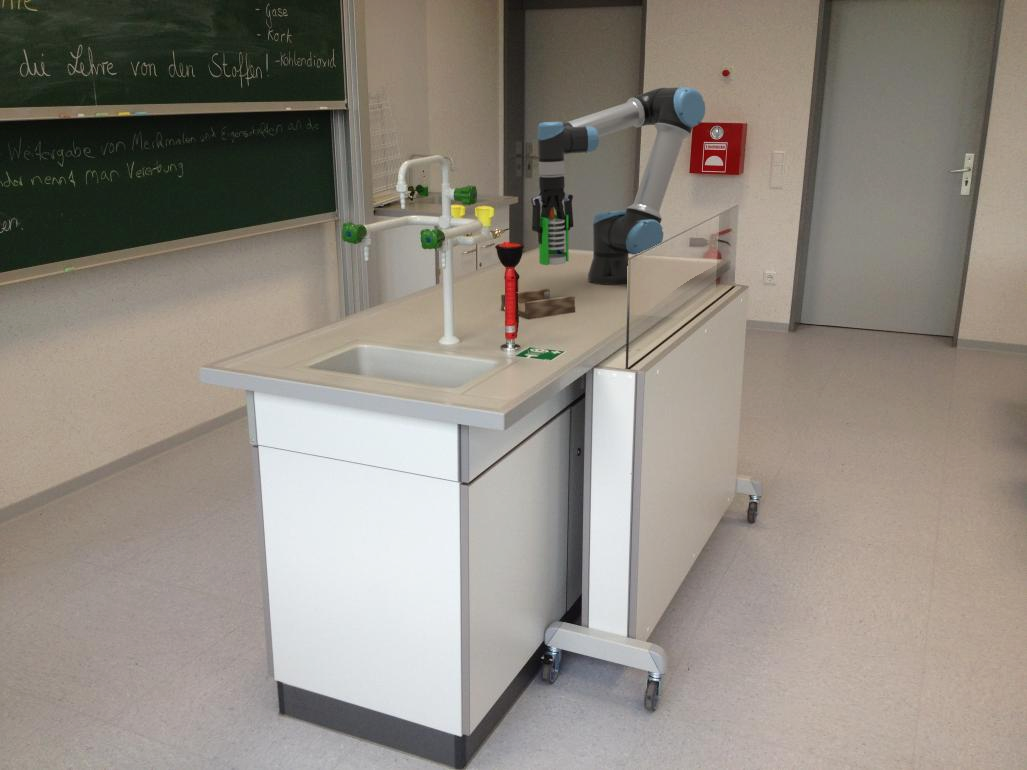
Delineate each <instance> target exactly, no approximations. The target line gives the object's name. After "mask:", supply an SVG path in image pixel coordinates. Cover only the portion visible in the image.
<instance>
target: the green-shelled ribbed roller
mask: <svg viewBox="0 0 1027 770" xmlns="http://www.w3.org/2000/svg"><path fill="white" fill-rule="evenodd" d="M546 208H547V207H546ZM565 217H566V229H567V230H563V229H562V228H564V227H565V225H563V224H561V223H564V222H565V220H561V219H558V216H557V213H555V208H554V207H553V208H551V211H550V212H549V216H548V218H542V217H540V227H541V228H542V231H543V233H542V244H539V243H538V244H539V246H538V247H539V249H538V250H539V251H538V252H539V253H538V254H539V255H538V258H539V261H538V262H539V264H540V265H541V266H542V265H543V266H553V265H555V266H557V265H563V264H566V263H567V262H569V257H570V256H569V250H570V249H569V248H570V247H569V231H568V215H565ZM541 228H540V229H541ZM565 231H566V252H560V250H559V249H564V248H565V245H561V244H563V243H565V240H562V239H563V238H565V235H562V233H565Z"/></svg>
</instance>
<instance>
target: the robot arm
mask: <svg viewBox="0 0 1027 770" xmlns="http://www.w3.org/2000/svg"><path fill="white" fill-rule="evenodd" d="M705 115H706V103H705V101H704V97H703V95H702V94H701V92H700V91H698V90H697V89H695V88H693V87H686V86H681V87H659V88H655V89H652V90H648V91H647V92H644V93H641V94H639V95H636V96H632V97H630V98H628V100H627V101H626V102H624V103H621V104H618V105H616V106H613V107H610V108H606V109H603V110H600V111H596V112H594V113H591V114H590V113H589V114H588V115H585V116H581V117H578V118H575V119H572V120H569V121H566V122H562V121H544V122H541V123H539V124H538V126H537V148H538V149H537V152H538V174H539V175H540V176H539V178H538V180H539V181H538V182H539V183H538V185H539V195H538V196H537V197H532V198H531V199H530V201H531V204H532V217H531V218H532V219H531V221H532V222H531V223H532V224H531V230H532V231H533V232H535V233H537V238H538V241H537V242H538V244H542V233H543V231H542V228H541V227H540V217H542V218H548V216H549V212H550V211H551V208H554V211H555V212H556V213H555V214H557V216H558V219H561V220H565V222H564V223H561V224H563V225H565V227H564V228H562V229H563V230H567V229H566V217H565V215H568V232H570V230H571V228H573V227H574V214H573V198H574V195H573V194H568V193H566V192H565V176H564V174H565V155H568V154H569V155H570V154H582V153H585V154H587V153H591V152H594V151H596V150H597V148H598V147H599V144H600V138H601V137H604V136H606V135H610V134H612V133H617V132H618V131H622V130H625V129H628V128H631V127H634V128H636V129H637V128H642V127H644V126H645V127H646V126H654V127H655V129H656V134H655V138H654V141H653V144H652V147H651V150H650V153H649V156H648V160H647V161H646V162H647V163H646V165H645V168H644V171H643V174H642V177H641V180H640V183H639V186H638V189H637V193H636V195H635V198H634V201H633V204H631V205H629V206H627V207H626V209H625V210H612V211H611V210H610V211H603V212H602V211H601V212H600V211H599V212H596V213H595V214H594V217H593V223H592V227H593V240H592V241H593V249H592V250H593V258H592V261H591V264H590V267H589V271H588V273H587V280H589V281H588V282H590V281H591V282H590V283H593V282H594V283H593V284H598V283H600V284H601V285H621V284H628V283H627V266H628V260H629V261H630V259H629V258H630V257H629V254H631V255H633V256H635V255H634V254H637V253H640V252H642V251H644V250H647V249H649V248H651V247H653V246H655V245H657V244H659V243H661V242H662V243H663V239H664V231H663V227H662V224H661V222H662V220H663V219H662V218H663V217H662V216H661V213H660V211H661V207H662V205H663V201H664V199H665V196H666V192H667V189H668V186H669V183H670V180H671V178H672V175H673V171H674V169H675V165H676V163H677V159H678V156H679V153H680V150H681V147H682V145H683V141H684V140H685V139H687V138H688V137H690V136H691V133H692V129H693V128H694V127H696V126H698V125H699V124H701V122H702V121H703V119H704V117H705ZM546 207H547V208H546ZM540 228H541V229H540ZM562 235H565V238H563V239H562V240H565V243H563V244H561V245H565V248H564V249H559V250H560V252H566V231H565V233H562ZM662 243H661V244H662Z"/></svg>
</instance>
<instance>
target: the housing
mask: <svg viewBox="0 0 1027 770" xmlns="http://www.w3.org/2000/svg"><path fill="white" fill-rule="evenodd" d="M517 293H518V303H519V316H518V317H521V316H522V318H524V317H525V318H524V319H527V318H528V319H527V320H532V319H536V318H543V317H550V316H557V315H562V314H563V315H564V314H569V313H576V306H575V305H576V302H575V301H576V300H575V297H576V296H575V295H566V296H559V297H552V298H551V289H550V288H540V289H533V290H526V291H518V292H517ZM505 294H506V293H504V294H501V295H500V296H501V298H500V299H501V306H500V308H501V311H504V307H505ZM502 309H503V310H502ZM520 315H521V316H520ZM531 318H532V319H531Z"/></svg>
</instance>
